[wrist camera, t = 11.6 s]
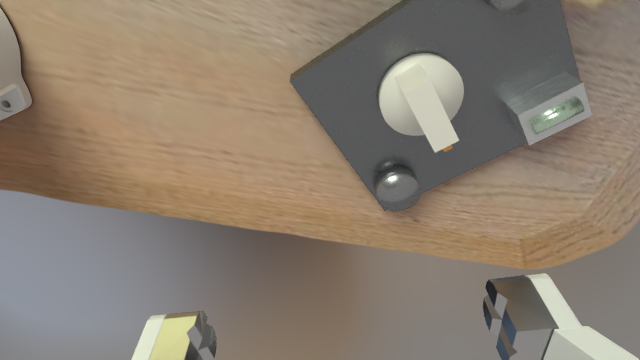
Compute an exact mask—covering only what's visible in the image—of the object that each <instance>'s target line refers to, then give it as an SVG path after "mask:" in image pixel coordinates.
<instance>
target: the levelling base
mask: <svg viewBox="0 0 640 360" xmlns="http://www.w3.org/2000/svg"><path fill="white" fill-rule="evenodd" d="M418 53H431V54H436V55H439V56H441V57H443V58H445V59H446V60H448V61H449V62H450V63H451V64H452V65H453V67H454V68H455V69H456V70H457V71H458V73H459V74H460V76H461V78H462V81H463V86H464V95H463V100H462V104H461V106H460V108H459V110H458V112H457V113H456V115H455V116H454V117H453V118H452V120H451V121H450V122H451V124H452V126H453V128H454V130H455V133H456V135H457V137H458V139H459V141H458V142H456V143H454V144H452V145H450V147H451V149H449V150H447V151H445V152H444V151H443V149H442V150H440V151H438V152H436V153H435V152H434V150H433V148H432V146H431V145H430V143H429V141H428V139H427V137H426V135H420V136H411V135H405V134H402V133H399V132H397V131H396V130H394V129H393V128H391V127H390V126H389V125H388V124H387V122H386V121H385V119H384V117H383V115H382V112H381V109H380V106H379V101H378V92H379V87H380V84H381V81H382V79H383V78H384V76H385V74H386V73H387V71H388V70H389V69H390V68H391V67H392V66H393V65H394V64H396V63H397V62H398V61H400V60H401V59H403V58H405V57H407V56H410V55H413V54H418ZM290 82H291V84H292V85H293V86H294V88H295V89H296V91H297V92H298V93H299V95H300V96H301V97H302V99H303V100H304V101H305V103H306V104H307V106H308V107H309V108H310V110H311V111H312V112H313V114H314V115H315V116H316V118H317V119H318V121H319V122H320V123H321V125H322V126H323V127H324V129H325V130H326V131H327V133H328V134H329V136H330V137H331V138H332V140H333V141H334V142H335V144H336V145H337V146H338V148H339V149H340V151H341V152H342V153H343V155H344V156H345V157H346V159H347V160H348V161H349V163H350V164H351V166H352V167H353V168H354V170H355V171H356V172H357V174H358V175H359V176H360V178H361V179H362V181H363V182H364V183H365V185H366V186H367V187H368V189H369V190H370V191H371V193H372V194H373V196H374V197H375V198H376V200H377V201H378V203H379V204H380V205H381V206H382V208H383V209H384V211H385V210H391V211H401V210H405V209H408V208H410V207H411V206H413V205H414V204H415V203H416V202H417V201H418V199H419V197H420V194H421V193H423V192H425V191H427V190H429V189H431V188H433V187H435V186H437V185H439V184H441V183H443V182H445V181H448V180H450V179H452V178H454V177H456V176H458V175H460V174H462V173H464V172H466V171H468V170H470V169H472V168H475V167H477V166H479V165H481V164H483V163H485V162H487V161H489V160H491V159H493V158H495V157H497V156H499V155H501V154H504V153H506V152H508V151H510V150H512V149H514V148H516V147H518V146H520V145H522V144H524V143H527V144H528V145H529V146H530V145H532V144H534V143H536V142H538V141H540V140H542V139H544V138H546V137H548V136H550V135H552V134H555V133H557V132H559V131H561V130H563V129H565V128H567V127H569V126H571V125H573V124H575V123H578V122H580V121H582V120H584V119H586V118H588V117H590V116H592V114H591V110H590V106H589V102H588V99H587V95H586V91H585V87H584V83H583V82H582V81H580V78H579V74H578V70H577V66H576V63H575V59H574V55H573V51H572V47H571V43H570V39H569V36H568V32H567V28H566V24H565V20H564V16H563V12H562V8H561V5H560V1H559V0H402V1H401V2H399V3H398V4H396V5H395V6H393V7H392V8H390V9H389V10H387V11H386V12H384V13H383V14H381V15H380V16H378V17H377V18H375V19H374V20H372V21H371V22H369V23H368V24H366V25H365V26H363V27H362V28H360V29H359V30H357V31H356V32H354V33H353V34H351V35H350V36H348V37H347V38H345V39H344V40H342V41H341V42H339V43H338V44H336V45H335V46H333V47H332V48H330V49H328V50H327V51H325V52H324V53H322V54H321V55H319V56H318V57H316V58H315V59H313V60H312V61H310V62H309V63H307V64H306V65H304V66H303V67H301V68H300V69H298V70H297V71H295V72H294V73H292V74H291V78H290Z"/></svg>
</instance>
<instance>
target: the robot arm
mask: <svg viewBox="0 0 640 360" xmlns="http://www.w3.org/2000/svg"><path fill="white" fill-rule="evenodd" d="M6 101H8V102H9V103H10V104H8V103H7V102H6ZM31 104H32V99H31V95H30V93H29V90H28V88H27V86H26V84H25V82H24V80H23V78H22V74H21V57H20V50H19V46H18V42H17V39H16V36H15V33H14V31H13V29H12V27H11V25H10V23H9V21H8V19H7V17H6V16H5V14H4V13H3V11H2V10H1V8H0V121H1V120H3V119H5V118H7V117H9V116H11V115H14V114H16V113H18V112H20V111H22V110H24V109H26V108H28V107H30V106H31ZM486 290H487V292H488V295H487V296H486V297H485V298H484V301H483V311H484V317H485V320H486V324H487V326H488V329H489V331H490V332H491V333H492V334H493V335H495V336H496V337H497V338H498V341H497V346H496V348H497V350H498V352H499V355H500V357H501V359H502V360H640V359H638V358H637V357H635V356H634V355H632V354H630V353H629V352H627V351H626V350H624V349H623V348H621V347H620V346H618V345H617V344H615V343H613V342H612V341H610V340H609V339H607V338H606V337H604V336H602V335H601V334H600V333H598V332H596V331H595V330H593V329H592V328H590V327H589V326H582V325H581V324H580V323H579V321H578V319H577V318H576V316H575V315H574V313H573V312H572V310H571V309H570V307H569V306H568V304H567V303H566V301H565V300H564V298H563V297H562V295H561V293H560V292H559V290H558V289H557V287H556V286H555V284H554V283H553V281H552V280H551V278H550V277H549V276H548V275H547V274H535V275H527V276H524V275H522V276H514V277H506V278H498V279H490V280H488V281H487V283H486ZM206 322H207V316H206V314H205V313H204V311H197V312H186V313H175V314H163V315H153V316H151V317H150V318H149V319H148V321H147V322H146V325H145V327H144V330H143V332H142V334H141V337H140V339H139V342H138V345H137V347H136V349H135V352H134V354H133V357H132V359H131V360H214V358H215V353H216V334H215V331H214V329H213V327H212V326H210V325H209V324H207V323H206Z"/></svg>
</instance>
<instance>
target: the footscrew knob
mask: <svg viewBox="0 0 640 360" xmlns="http://www.w3.org/2000/svg"><path fill="white" fill-rule="evenodd" d="M463 95H464V86H463V81H462V78H461V76H460V74H459V73H458V71H457V70H456V69H455V68H454V67H453V65H452V64H451V63H450V62H449V61H448V60H446V59H445V58H443V57H441V56H439V55H436V54H431V53H418V54H413V55H410V56H407V57H405V58H403V59H401V60H400V61H398V62H397V63H396V64H394V65H393V66H392V67H391V68H390V69H389V70H388V71H387V73H386V74H385V76H384V78H383V79H382V81H381V84H380V87H379V92H378V101H379V106H380V109H381V112H382V115H383V117H384V119H385V121H386V122H387V124H388V125H389V126H390V127H391V128H393V129H394V130H396V131H397V132H399V133H402V134H405V135H411V136H420V135H426V137H427V139H428V141H429V143H430V145H431V146H432V148H433V150H434V152H435V153H436V152H438V151H440V150H442V149H443V151H444V152H445V151H447V150H449V149H451V147H450V145H452V144H454V143H456V142H458V141H459V139H458V137H457V135H456V133H455V130H454V128H453V126H452V124H451V122H450V121H451V120H452V118H453V117H454V116H455V115H456V113H457V112H458V110H459V108H460V106H461V104H462V100H463Z"/></svg>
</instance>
